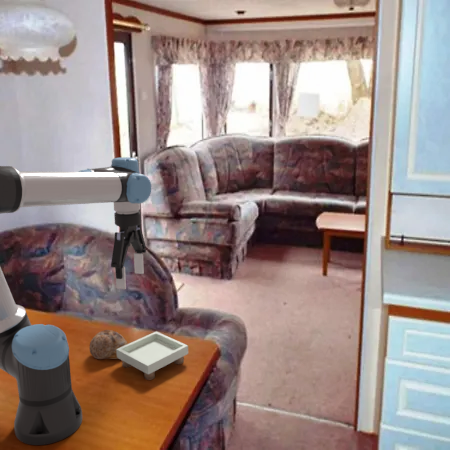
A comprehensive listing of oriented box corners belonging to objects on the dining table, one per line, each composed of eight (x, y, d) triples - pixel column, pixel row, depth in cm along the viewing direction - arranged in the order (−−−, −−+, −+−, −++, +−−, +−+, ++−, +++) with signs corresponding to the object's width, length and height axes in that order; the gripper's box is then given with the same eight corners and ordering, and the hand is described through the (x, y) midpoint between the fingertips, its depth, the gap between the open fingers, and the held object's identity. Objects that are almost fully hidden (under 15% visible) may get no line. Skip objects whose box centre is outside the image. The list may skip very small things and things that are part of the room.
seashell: (109, 366, 143) (95, 334, 144) (93, 372, 148) (79, 341, 149) (136, 351, 151) (122, 320, 152) (120, 357, 157) (107, 328, 157)
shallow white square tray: (148, 382, 136) (147, 365, 134) (117, 365, 145) (116, 349, 143) (188, 361, 146) (188, 345, 145) (157, 346, 155) (156, 331, 154)
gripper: (121, 221, 133) (125, 296, 138) (154, 203, 156) (156, 268, 161) (95, 220, 134) (100, 294, 139) (132, 202, 158) (135, 266, 163)
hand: (130, 280), depth 150 cm, fingers open, 13 cm apart
